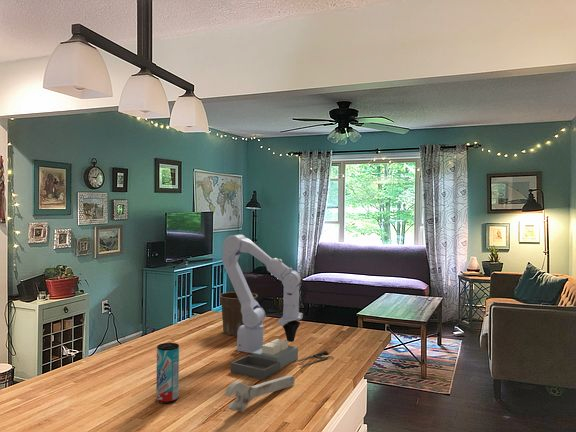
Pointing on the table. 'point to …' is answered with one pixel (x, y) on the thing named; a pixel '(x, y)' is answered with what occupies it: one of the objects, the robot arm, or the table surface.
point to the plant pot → (231, 312)
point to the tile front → (271, 348)
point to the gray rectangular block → (280, 355)
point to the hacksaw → (316, 360)
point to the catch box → (255, 367)
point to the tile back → (281, 343)
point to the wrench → (255, 391)
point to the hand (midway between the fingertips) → (290, 341)
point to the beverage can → (167, 372)
